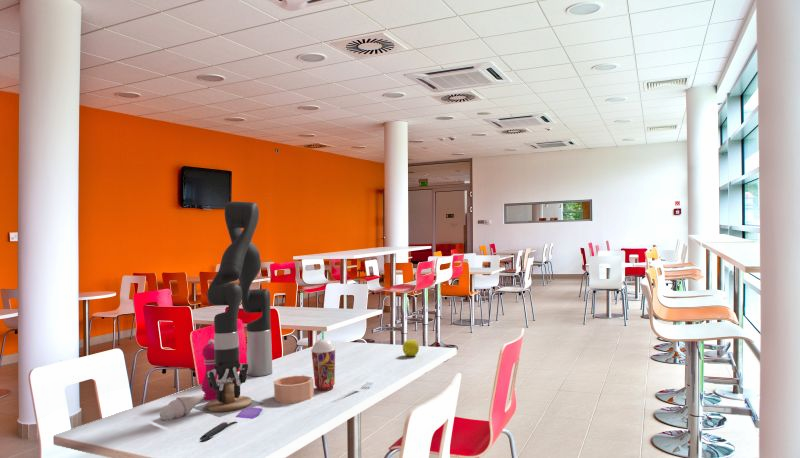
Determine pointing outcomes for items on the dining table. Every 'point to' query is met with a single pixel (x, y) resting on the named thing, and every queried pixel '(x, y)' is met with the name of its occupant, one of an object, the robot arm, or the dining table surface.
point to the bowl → (293, 389)
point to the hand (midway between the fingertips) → (228, 399)
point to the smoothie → (324, 364)
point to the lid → (228, 401)
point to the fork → (353, 391)
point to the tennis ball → (410, 348)
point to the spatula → (244, 413)
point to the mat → (219, 414)
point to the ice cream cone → (179, 407)
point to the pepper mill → (210, 365)
